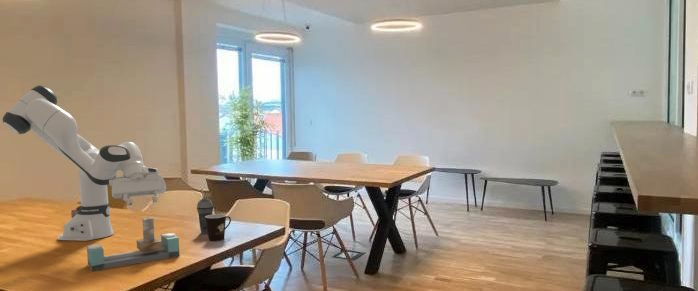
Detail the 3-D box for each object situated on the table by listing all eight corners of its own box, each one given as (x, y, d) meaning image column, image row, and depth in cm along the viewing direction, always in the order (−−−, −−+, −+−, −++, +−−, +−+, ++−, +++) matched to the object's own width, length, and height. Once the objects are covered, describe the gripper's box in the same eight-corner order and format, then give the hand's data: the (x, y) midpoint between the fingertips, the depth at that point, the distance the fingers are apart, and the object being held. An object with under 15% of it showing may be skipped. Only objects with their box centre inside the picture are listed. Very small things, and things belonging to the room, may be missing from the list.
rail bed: (91, 271, 177) (90, 250, 176) (87, 264, 185) (86, 244, 185) (180, 255, 194) (179, 236, 194) (172, 250, 202) (171, 231, 202)
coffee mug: (208, 242, 213) (207, 219, 212) (204, 238, 220) (203, 215, 220) (236, 239, 218) (235, 215, 217) (231, 234, 226) (230, 212, 225)
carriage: (142, 252, 187) (140, 221, 186) (136, 247, 194) (135, 217, 193) (162, 249, 191) (160, 218, 190) (156, 244, 198) (154, 215, 197)
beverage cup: (209, 234, 227) (207, 190, 225) (194, 234, 228) (192, 189, 227) (217, 230, 234) (215, 187, 232) (202, 230, 235) (200, 187, 234)
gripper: (108, 173, 200) (115, 201, 193) (162, 168, 212) (170, 195, 204) (107, 183, 204) (113, 211, 197) (159, 178, 216) (167, 204, 208)
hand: (142, 202), depth 201 cm, fingers open, 8 cm apart
